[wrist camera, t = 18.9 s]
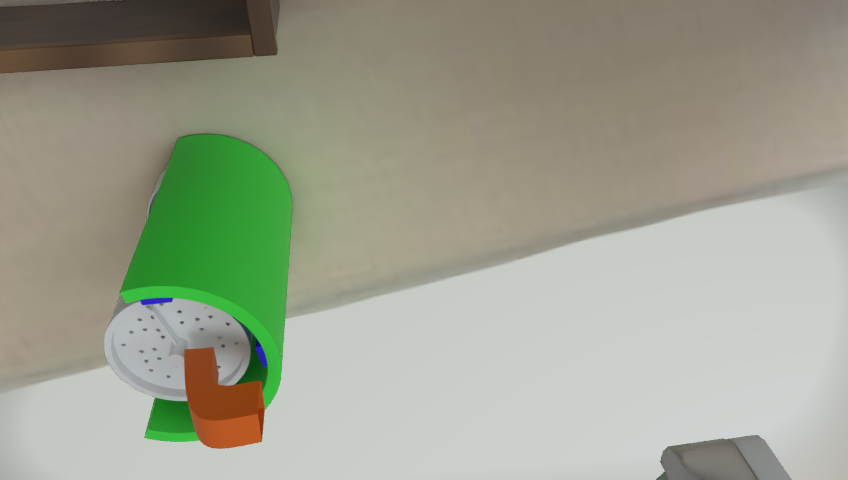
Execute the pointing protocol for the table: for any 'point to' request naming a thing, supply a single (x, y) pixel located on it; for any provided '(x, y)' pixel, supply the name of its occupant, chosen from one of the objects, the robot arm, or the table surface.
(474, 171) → the table surface
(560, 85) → the table surface
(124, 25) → the wooden box
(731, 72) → the table surface
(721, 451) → the robot arm
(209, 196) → the green-shelled ribbed roller
